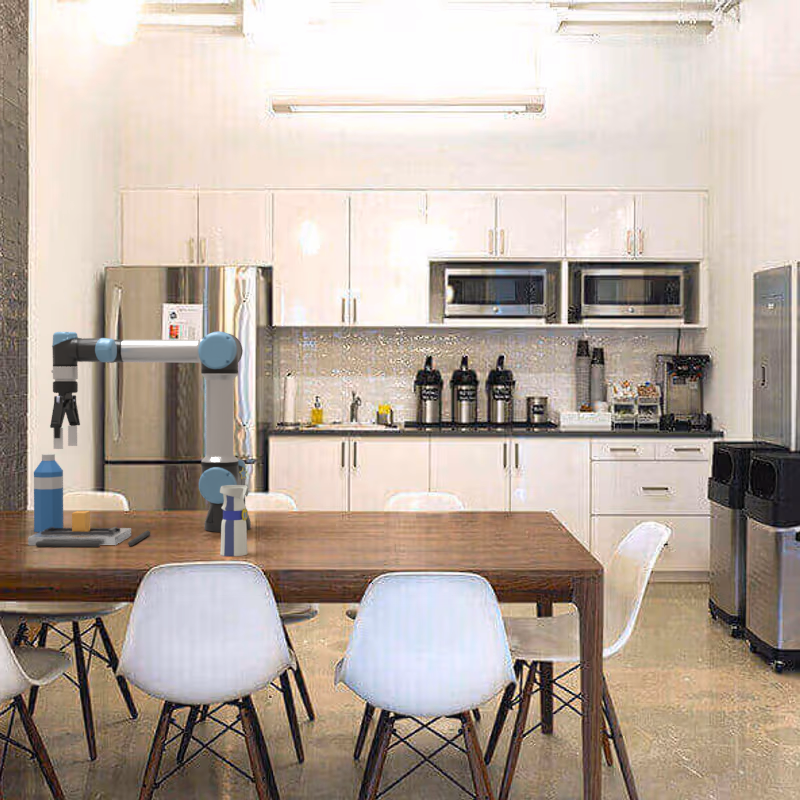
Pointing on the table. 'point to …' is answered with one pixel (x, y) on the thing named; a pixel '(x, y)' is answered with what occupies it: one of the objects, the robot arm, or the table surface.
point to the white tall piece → (234, 519)
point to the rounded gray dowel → (139, 538)
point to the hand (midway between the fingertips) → (65, 447)
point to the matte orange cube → (81, 521)
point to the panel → (82, 535)
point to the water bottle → (48, 494)
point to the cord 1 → (66, 544)
